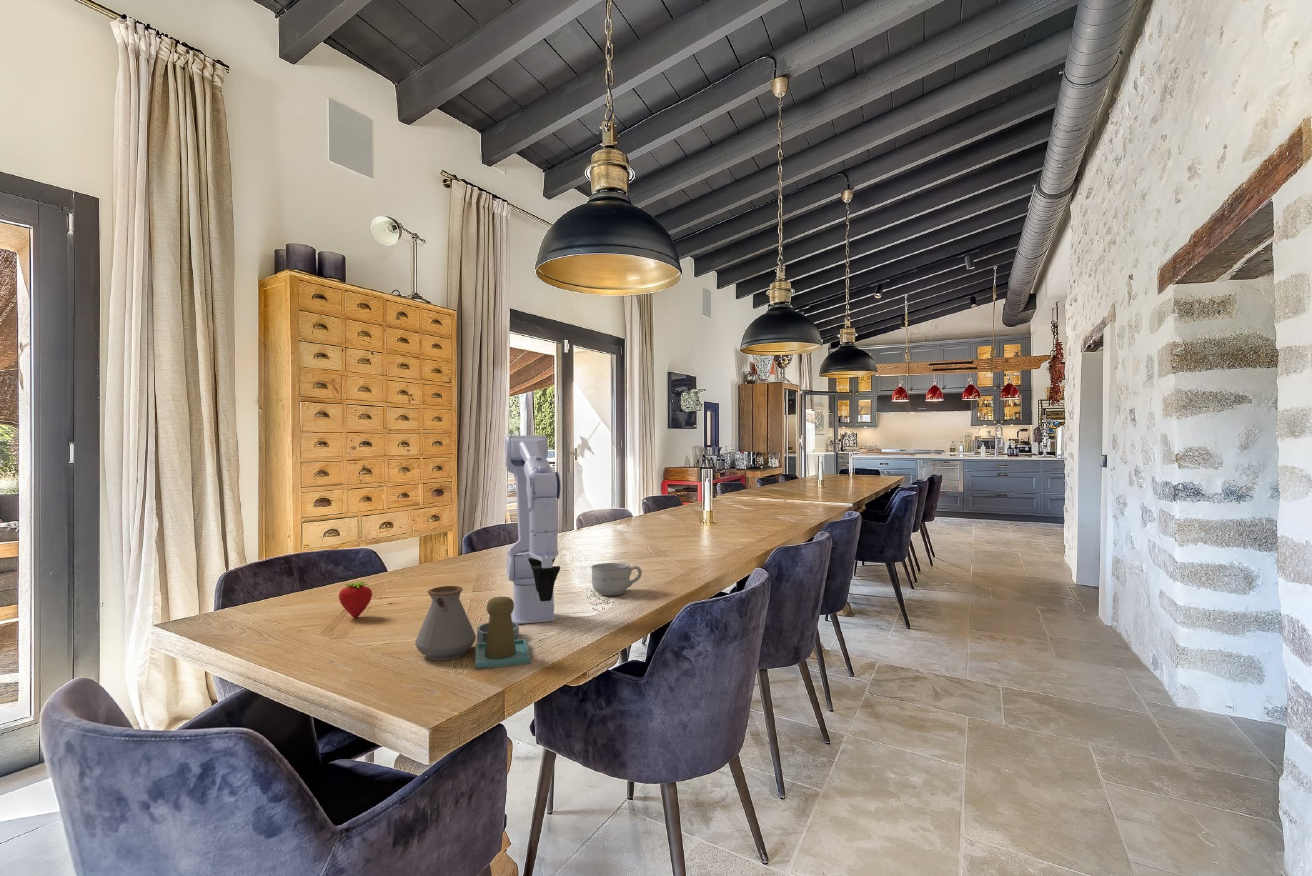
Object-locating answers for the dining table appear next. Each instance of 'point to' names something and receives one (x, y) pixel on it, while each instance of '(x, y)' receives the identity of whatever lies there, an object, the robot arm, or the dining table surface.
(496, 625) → the cork
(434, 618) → the coffee pot
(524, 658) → the tray
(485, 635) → the ring
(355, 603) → the strawberry
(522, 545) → the robot arm
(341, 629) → the dining table surface
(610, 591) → the teacup
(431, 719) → the dining table surface
